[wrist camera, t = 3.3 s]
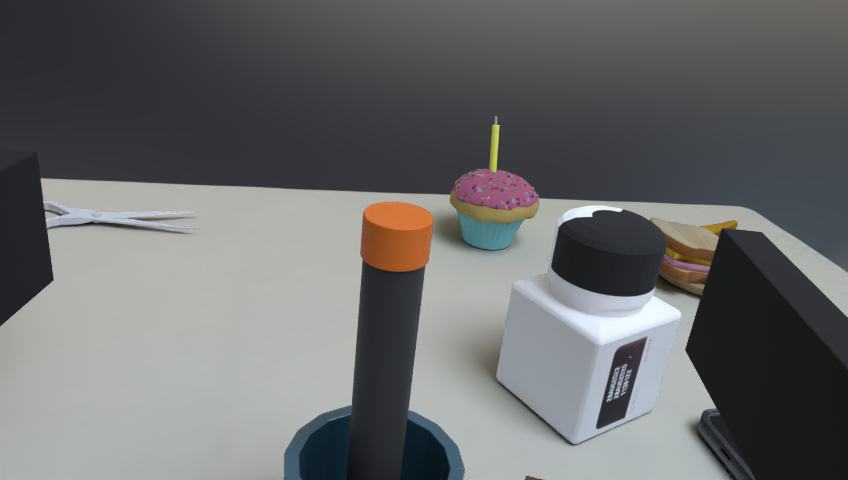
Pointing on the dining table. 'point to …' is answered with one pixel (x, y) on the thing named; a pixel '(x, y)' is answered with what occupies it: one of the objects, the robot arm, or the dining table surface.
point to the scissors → (101, 217)
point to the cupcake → (492, 203)
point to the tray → (531, 478)
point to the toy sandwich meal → (689, 252)
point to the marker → (386, 336)
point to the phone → (723, 444)
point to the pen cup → (329, 442)
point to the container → (591, 325)
